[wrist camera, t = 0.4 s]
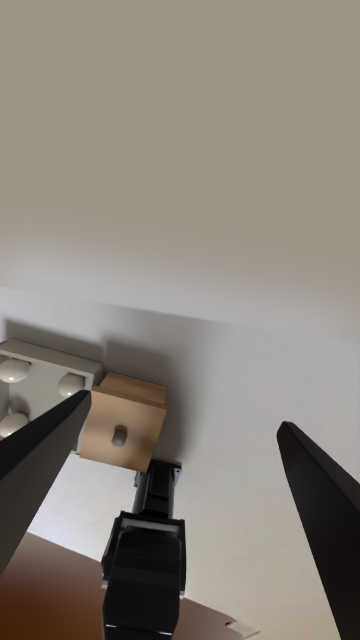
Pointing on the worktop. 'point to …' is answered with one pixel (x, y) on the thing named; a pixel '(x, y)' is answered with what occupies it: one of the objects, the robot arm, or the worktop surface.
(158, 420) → the lidded box
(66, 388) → the shiny white sphere
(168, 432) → the worktop surface
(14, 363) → the white glossy ball
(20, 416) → the pebble
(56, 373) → the tray
